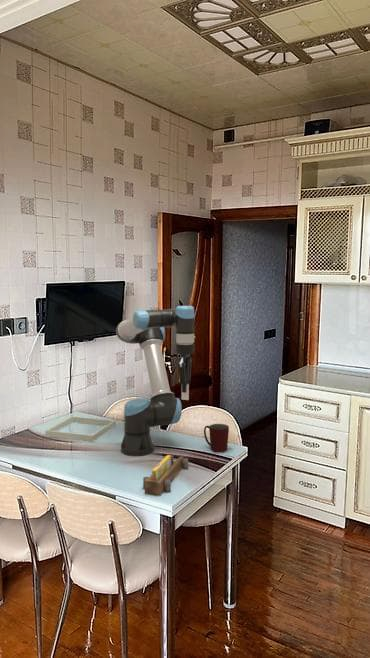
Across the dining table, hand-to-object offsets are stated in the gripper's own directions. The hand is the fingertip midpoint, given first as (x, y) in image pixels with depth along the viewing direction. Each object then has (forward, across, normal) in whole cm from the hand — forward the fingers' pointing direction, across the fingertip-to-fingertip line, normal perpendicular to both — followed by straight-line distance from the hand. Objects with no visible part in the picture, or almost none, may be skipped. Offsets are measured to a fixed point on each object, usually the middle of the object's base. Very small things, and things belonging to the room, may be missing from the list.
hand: (185, 399), depth 207 cm
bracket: (+28, -17, +3) cm, 33 cm away
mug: (+29, +22, -8) cm, 37 cm away
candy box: (+29, -20, +3) cm, 35 cm away
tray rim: (+28, +27, +64) cm, 75 cm away
